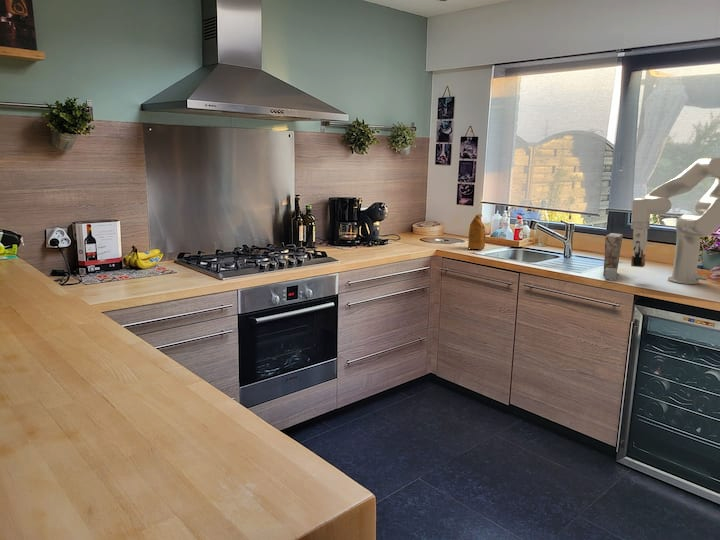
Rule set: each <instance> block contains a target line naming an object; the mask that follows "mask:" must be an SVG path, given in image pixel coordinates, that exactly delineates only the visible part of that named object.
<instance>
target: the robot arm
mask: <svg viewBox="0 0 720 540" xmlns="http://www.w3.org/2000/svg"><path fill="white" fill-rule="evenodd" d="M707 178H714V181H713V184H712V185H711V187H710V188H709V189H708V190H707V191H706V192H705V193H704V195H703V196H701V198H700V199H699V200H698V201H697V202H696V203H695V207H694V210H695V212H696V213H690V212H689V213H684V214H682V215H680V216H679V218H677V221H676V224H675V228H676V229H675V231H676V241H675V243H676V244H675V250H674V259H673V266H672V274H671V276H668V277H667V280H668V281H669V282H672V283H676V284H685V285H696V284H699V283H700V280H702V281H708V275H700V274H698V272H697V271H698V265H699V256H700V248H701V239H700V238H705V237H709V236H711V235H712V234H713V233H715V232H716V231H717V230H718V228H719V227H720V157H701V158H698V159H697V160H696V161H694V162H693V163H691V164H690V165H689V166H688V167H687V168H686V169H685V170H683V171H682V172H681V173H679V174H678V175H677V176H675V177H674V178H673V179H670V180H669V181H667V182H664V183H663V184H661V185H658V186H657V187H655V188H653V190H651V191H650V192H649V193H648V194H647V195H645V196H644V197H636V198H633V200H632V203H631V204H632V205H631V223H630V229H631V230H633V231H632V234H633V235H632V250H633V254H634V259H633V265H634V266H641V259H642V257H641V254H644V251H646V250H647V247H648V230H650V224H651V214H654V215H655V214H658V215H664V214H666V213H668V212H670V210H671V209H672V201H671V200H670V198H672V197H674V196H679V195H683V194H686V193H689V192H691V191H692V190H693V189H694V188H696V187H697V186H698V185H699V184H700V183H702V182H703V181H704V180H705V179H707Z"/></svg>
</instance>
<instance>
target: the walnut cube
mask: <svg viewBox="0 0 720 540" xmlns="http://www.w3.org/2000/svg"><path fill="white" fill-rule="evenodd" d="M641 257H642V259H641V266H634V265H633V259H634V253H632V255H631V262H630V263H631V264H630V266H631V267H636V268H644V267H645V265H646V254H645V253H643V254H641Z"/></svg>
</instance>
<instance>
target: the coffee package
mask: <svg viewBox="0 0 720 540" xmlns="http://www.w3.org/2000/svg"><path fill="white" fill-rule="evenodd" d="M482 218H483V214H482V213H478V214H475V216H474V218H473V219H472V220H471V222H470V224H469V230H468V243H467V244H468V245H467V249H468V248H470V249H478V250H479V251H481V250H483V249H485V246H486V234H487V233H486V227H485V225H484V223H483V221H482ZM478 250H477V251H478Z"/></svg>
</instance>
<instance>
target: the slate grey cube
mask: <svg viewBox="0 0 720 540" xmlns="http://www.w3.org/2000/svg"><path fill="white" fill-rule="evenodd" d="M617 275H618V269H617V268H605V275H604V278H603V279H611V280H610V281H614V280H616V281H617Z"/></svg>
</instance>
